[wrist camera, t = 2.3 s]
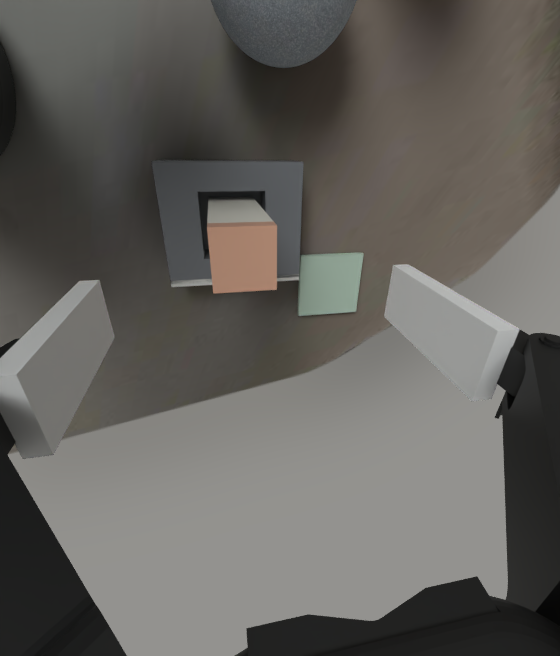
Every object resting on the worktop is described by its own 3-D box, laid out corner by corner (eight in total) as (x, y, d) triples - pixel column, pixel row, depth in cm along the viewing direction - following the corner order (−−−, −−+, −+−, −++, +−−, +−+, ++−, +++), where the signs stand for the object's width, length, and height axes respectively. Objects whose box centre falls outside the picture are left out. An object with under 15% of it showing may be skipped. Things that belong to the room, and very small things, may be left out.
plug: (212, 241, 32) (213, 293, 20) (208, 197, 30) (206, 227, 18) (253, 240, 32) (276, 289, 21) (252, 196, 30) (277, 225, 19)
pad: (297, 313, 38) (298, 316, 38) (299, 255, 35) (301, 256, 34) (353, 309, 39) (355, 311, 39) (361, 252, 36) (363, 253, 36)
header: (175, 272, 33) (171, 287, 30) (158, 159, 28) (151, 161, 25) (290, 267, 35) (298, 279, 32) (292, 160, 30) (303, 161, 27)
